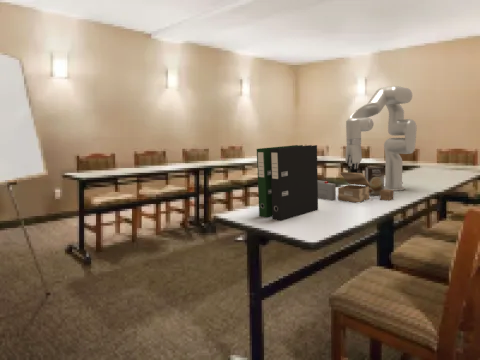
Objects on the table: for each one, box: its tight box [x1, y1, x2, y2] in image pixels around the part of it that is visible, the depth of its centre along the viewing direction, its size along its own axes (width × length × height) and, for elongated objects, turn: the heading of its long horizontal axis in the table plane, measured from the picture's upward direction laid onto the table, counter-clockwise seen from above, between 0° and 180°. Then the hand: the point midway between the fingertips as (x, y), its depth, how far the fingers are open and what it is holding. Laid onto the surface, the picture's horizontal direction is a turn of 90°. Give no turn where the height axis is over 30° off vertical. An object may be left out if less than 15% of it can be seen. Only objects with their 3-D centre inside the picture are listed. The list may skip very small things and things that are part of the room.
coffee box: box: [365, 166, 385, 197], centre depth 205 cm, size 9×6×16 cm
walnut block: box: [379, 189, 395, 202], centre depth 192 cm, size 5×5×5 cm
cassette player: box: [318, 180, 337, 201], centre depth 203 cm, size 16×3×10 cm, turn 33°
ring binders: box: [256, 144, 319, 222], centre depth 170 cm, size 27×15×32 cm, turn 129°
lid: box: [340, 171, 370, 186], centre depth 195 cm, size 12×12×1 cm
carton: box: [337, 184, 370, 203], centre depth 195 cm, size 12×12×7 cm
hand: (354, 175), depth 194 cm, fingers closed
